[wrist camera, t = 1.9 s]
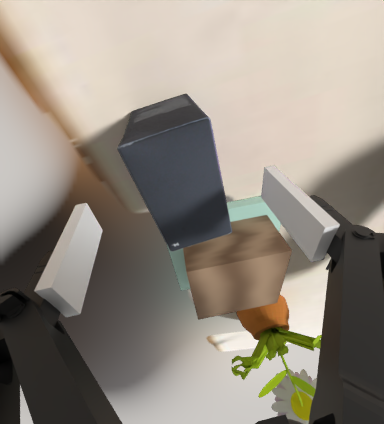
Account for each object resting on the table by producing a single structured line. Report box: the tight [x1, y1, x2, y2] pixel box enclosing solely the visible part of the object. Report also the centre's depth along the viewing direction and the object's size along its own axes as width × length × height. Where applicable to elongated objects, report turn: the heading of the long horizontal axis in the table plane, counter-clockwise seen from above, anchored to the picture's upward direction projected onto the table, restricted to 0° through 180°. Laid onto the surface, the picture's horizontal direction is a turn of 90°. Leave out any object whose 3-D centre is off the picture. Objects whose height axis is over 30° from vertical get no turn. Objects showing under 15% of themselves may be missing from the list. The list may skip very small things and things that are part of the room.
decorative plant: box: [232, 295, 322, 424], centre depth 42 cm, size 27×24×25 cm
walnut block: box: [183, 215, 292, 319], centre depth 31 cm, size 13×13×7 cm
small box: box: [117, 94, 232, 252], centre depth 19 cm, size 11×6×10 cm, turn 15°
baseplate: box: [167, 196, 281, 290], centre depth 34 cm, size 18×18×2 cm
